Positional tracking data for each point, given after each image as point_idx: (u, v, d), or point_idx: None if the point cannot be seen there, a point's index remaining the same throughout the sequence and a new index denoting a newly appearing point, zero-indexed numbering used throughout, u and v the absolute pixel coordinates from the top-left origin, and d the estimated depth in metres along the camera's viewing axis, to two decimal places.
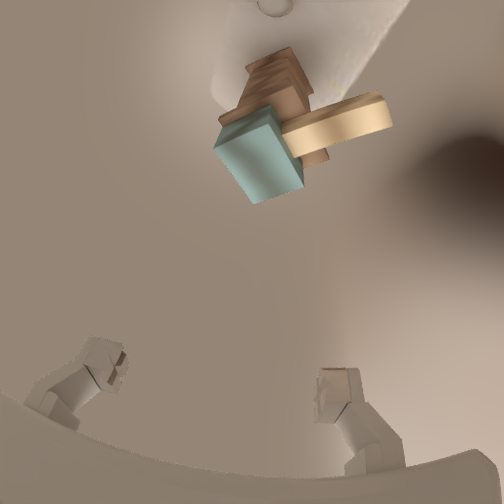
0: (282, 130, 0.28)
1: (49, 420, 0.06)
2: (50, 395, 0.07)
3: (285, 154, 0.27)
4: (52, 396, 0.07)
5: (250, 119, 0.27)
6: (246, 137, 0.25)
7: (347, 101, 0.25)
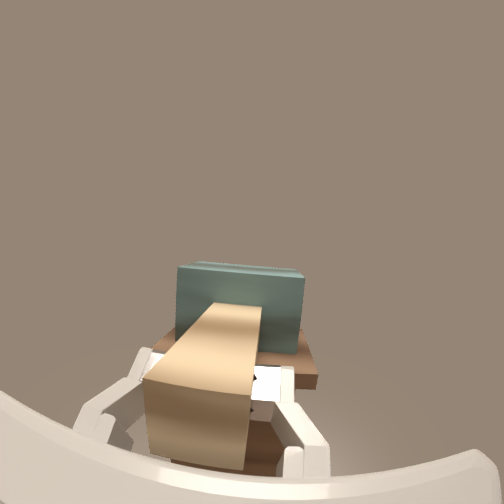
0: (260, 322, 0.18)
1: (49, 420, 0.06)
2: (106, 418, 0.07)
3: (245, 273, 0.18)
4: (108, 418, 0.07)
5: None
6: (295, 273, 0.20)
7: None
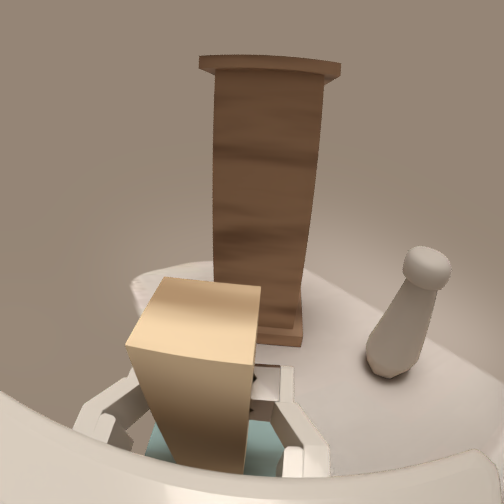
0: (245, 455, 0.13)
1: (49, 420, 0.06)
2: (105, 418, 0.07)
3: None
4: (108, 418, 0.07)
5: None
6: None
7: (248, 417, 0.08)
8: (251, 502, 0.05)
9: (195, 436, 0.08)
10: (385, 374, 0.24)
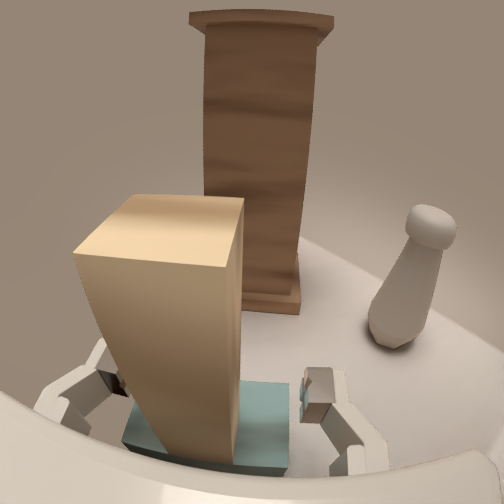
0: (237, 428, 0.12)
1: (49, 420, 0.06)
2: (61, 401, 0.07)
3: None
4: (63, 401, 0.07)
5: None
6: None
7: (231, 366, 0.07)
8: (251, 502, 0.05)
9: (168, 393, 0.07)
10: (389, 343, 0.23)
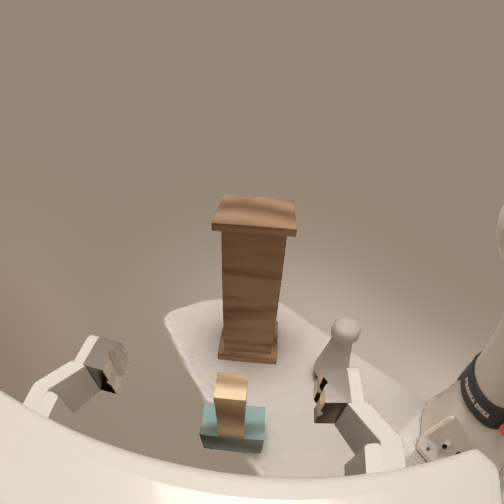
0: (244, 425, 0.32)
1: (49, 420, 0.06)
2: (50, 396, 0.07)
3: None
4: (52, 396, 0.07)
5: None
6: None
7: None
8: (251, 502, 0.05)
9: (228, 417, 0.27)
10: None
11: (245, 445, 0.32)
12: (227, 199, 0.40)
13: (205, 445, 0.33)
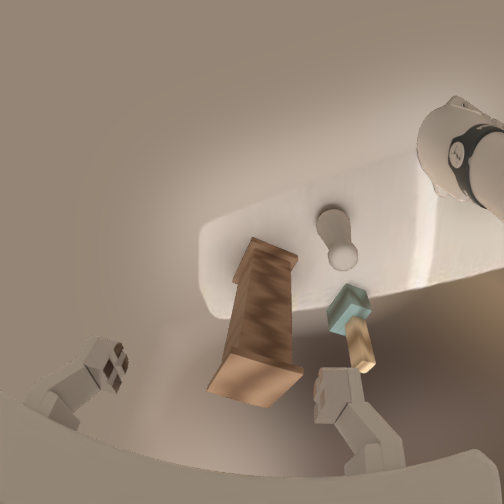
0: (356, 317, 0.52)
1: (49, 420, 0.06)
2: (50, 395, 0.07)
3: (341, 316, 0.53)
4: (52, 396, 0.07)
5: (362, 300, 0.53)
6: (348, 296, 0.53)
7: (369, 347, 0.46)
8: (251, 502, 0.05)
9: None
10: None
11: None
12: (218, 392, 0.35)
13: None
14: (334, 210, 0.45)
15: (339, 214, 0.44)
